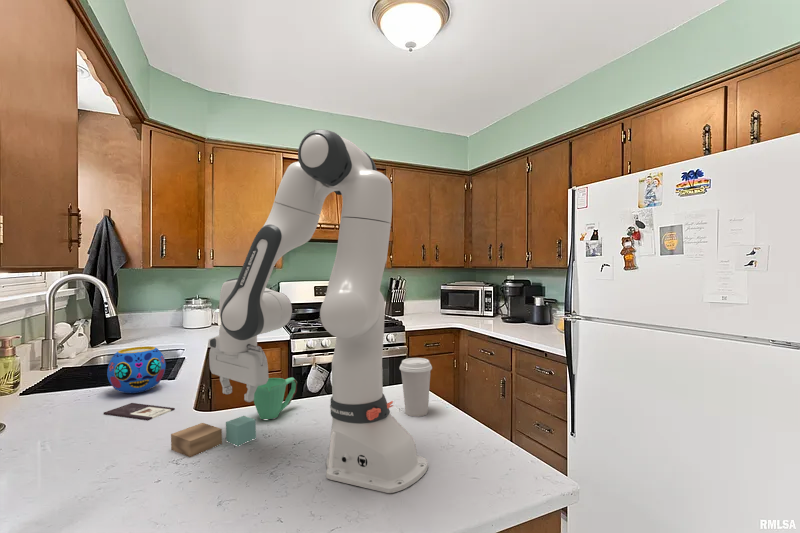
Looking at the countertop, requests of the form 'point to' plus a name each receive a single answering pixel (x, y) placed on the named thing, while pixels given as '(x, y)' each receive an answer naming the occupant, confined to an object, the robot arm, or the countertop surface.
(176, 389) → the countertop surface
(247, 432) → the teal cube
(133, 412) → the chocolate bar
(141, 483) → the countertop surface
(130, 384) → the ceramic pot
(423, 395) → the coffee cup
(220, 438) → the walnut slab
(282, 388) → the mug
